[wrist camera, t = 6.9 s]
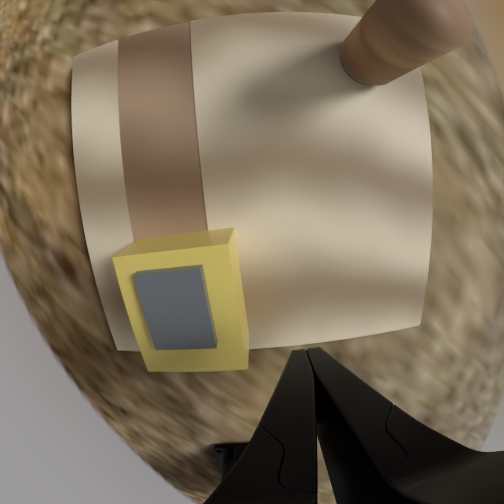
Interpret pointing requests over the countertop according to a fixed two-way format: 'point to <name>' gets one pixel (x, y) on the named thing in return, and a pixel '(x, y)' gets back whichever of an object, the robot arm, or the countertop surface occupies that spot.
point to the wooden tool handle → (403, 38)
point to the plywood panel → (260, 170)
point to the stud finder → (186, 301)
